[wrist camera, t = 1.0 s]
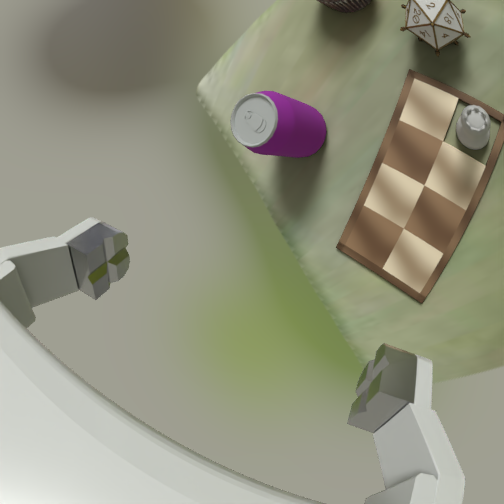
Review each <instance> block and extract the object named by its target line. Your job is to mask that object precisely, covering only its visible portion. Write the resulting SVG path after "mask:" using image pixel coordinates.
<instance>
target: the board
mask: <svg viewBox="0 0 504 504" xmlns="http://www.w3.org/2000/svg"><path fill="white" fill-rule="evenodd" d="M458 99H459V100H461V101H463V102H465V103H467V104H469V105H476V106H480V107H481V108H483V109H484V110H485V111H486V112H487V114H488V115H489V116H491V117H493V118H494V119H496V120H498V121H499V122H501V125H500V128H499V131H498V134H497V137H496V139H495V142H494V145H493V148H492V150H491V153H490V156H489V158H488V161H487V163H486V166H485V165H484V164H482V163H480V162H479V161H477V160H475V159H474V158H472V157H470V156H469V155H467V154H465V153H463V152H462V151H460V150H458V149H456V148H455V147H453V146H451V145H449V144H447V143H445V142H443V141H444V138H445V136H446V133H447V130H448V128H449V125H450V122H451V120H452V117H453V114H454V111H455V108H456V105H457V102H458ZM503 142H504V114H502V113H500V112H499V111H497V110H495V109H493V108H492V107H490V106H488V105H486V104H484V103H483V102H481V101H479V100H477V99H475V98H473V97H471V96H469V95H467V94H465V93H463V92H461V91H459V90H457V89H455V88H453V87H451V86H448V85H446V84H444V83H442V82H440V81H437V80H435V79H433V78H430V77H428V76H425V75H423V74H420V73H418V72H415V71H413V70H410V69H409V72H408V74H407V77H406V80H405V83H404V86H403V89H402V92H401V94H400V97H399V100H398V103H397V105H396V108H395V111H394V113H393V116H392V119H391V121H390V124H389V126H388V129H387V132H386V134H385V137H384V139H383V142H382V144H381V147H380V149H379V152H378V154H377V156H376V159H375V161H374V164H373V166H372V169H371V171H370V173H369V176H368V178H367V180H366V183H365V185H364V187H363V190H362V192H361V194H360V196H359V199H358V201H357V203H356V205H355V208H354V210H353V212H352V214H351V216H350V219H349V221H348V223H347V225H346V227H345V229H344V232H343V234H342V236H341V238H340V240H339V242H338V244H337V246H336V248H337V249H339V250H341V251H342V252H344V253H345V254H347V255H349V256H350V257H352V258H353V259H355V260H356V261H358V262H360V263H361V264H363V265H364V266H366V267H367V268H369V269H371V270H372V271H374V272H375V273H377V274H378V275H380V276H381V277H383V278H384V279H386V280H387V281H389V282H390V283H392V284H393V285H395V286H396V287H398V288H399V289H401V290H402V291H404V292H405V293H407V294H408V295H410V296H411V297H413V298H414V299H416V300H417V301H419V302H420V303H423V301H424V300H425V298H426V297H427V295H428V293H429V292H430V290H431V289H432V287H433V286H434V284H435V282H436V281H437V279H438V277H439V276H440V274H441V272H442V271H443V269H444V267H445V266H446V264H447V262H448V261H449V259H450V257H451V255H452V253H453V252H454V250H455V248H456V246H457V244H458V243H459V241H460V239H461V237H462V235H463V233H464V231H465V229H466V227H467V225H468V223H469V221H470V219H471V217H472V215H473V213H474V211H475V209H476V207H477V205H478V203H479V201H480V198H481V196H482V194H483V192H484V189H485V187H486V185H487V183H488V180H489V178H490V175H491V173H492V171H493V168H494V166H495V163H496V160H497V158H498V155H499V153H500V150H501V147H502V144H503Z"/></svg>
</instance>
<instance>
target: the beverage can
mask: <svg viewBox="0 0 504 504" xmlns="http://www.w3.org/2000/svg"><path fill="white" fill-rule="evenodd" d="M231 130H232V132H233V135H234V137H235V138H236V139H237V141H238V142H239V143H241V144H243V145H244V146H245V147H246V148H248V149H249V150H251V151H252V152H254V153H258V154H263V155H275V156H286V157H296V158H299V157H308V156H310V155H312V154H314V153H316V152H317V151H318V150H319V149H320V148H321V146H322V144H323V142H324V140H325V136H326V123H325V121H324V119H323V117H322V115H321V114H320V113H319V112H318V111H317V110H316V109H315V108H313V107H311V106H309V105H307V104H305V103H302V102H300V101H297V100H295V99H292V98H290V97H287V96H285V95H282V94H279V93H277V92H274V91H262V92H258V93H252V94H249V95H246V96H244V97H243V98H242V99H240V100H239V101H238V103H237V104H236V105H235V107H234V109H233V112H232V115H231Z"/></svg>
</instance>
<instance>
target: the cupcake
mask: <svg viewBox="0 0 504 504" xmlns="http://www.w3.org/2000/svg"><path fill="white" fill-rule="evenodd" d="M317 1H319V2H321V3H323V4H325V5H327V6H328V7H330V8H333V9H335V10H337V11H340V12H345V13H346V12H355V11H358V10H361V9H362V8H364V7H366V6H367V5H368V4H369V3H370V2H371V0H317Z"/></svg>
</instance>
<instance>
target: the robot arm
mask: <svg viewBox="0 0 504 504" xmlns="http://www.w3.org/2000/svg"><path fill="white" fill-rule="evenodd" d="M127 245H128V238H127V235H126V234H125V233H124V232H122V231H120V230H118V229H116V228H114V227H112V226H110V225H108V224H106V223H104V222H102V221H100V220H98V219H96V218H88V219H86V220H85V221H83V222H81V223H80V224H78V225H76V226H75V227H73V228H72V229H70V230H68V231H67V232H65V233H64V234H62V235H60V236H59V237H57V238H56V237H49V238H44V239H39V240H34V241H30V242H25V243H20V244H15V245H11V246H7V247H2V248H0V504H324V503H321V502H318V501H314V500H311V499H308V498H304V497H301V496H298V495H295V494H292V493H289V492H286V491H283V490H281V489H278V488H275V487H273V486H270V485H267V484H264V483H262V482H259V481H257V480H255V479H252V478H250V477H247V476H244V475H243V474H240V473H238V472H236V471H234V470H231V469H229V468H227V467H225V466H223V465H220V464H218V463H216V462H214V461H212V460H210V459H208V458H206V457H204V456H202V455H200V454H198V453H196V452H194V451H192V450H191V449H189V448H187V447H185V446H183V445H181V444H179V443H178V442H176V441H174V440H172V439H171V438H169V437H167V436H166V435H164V434H162V433H161V432H159V431H157V430H155V429H154V428H152V427H151V426H149V425H147V424H146V423H144V422H143V421H141V420H140V419H138V418H136V417H135V416H133V415H132V414H130V413H129V412H127V411H126V410H125V409H123V408H122V407H120V406H119V405H117V404H116V403H114V402H113V401H112V400H110V399H109V398H107V397H106V396H105V395H103V394H102V393H101V392H99V391H98V390H97V389H95V388H94V387H93V386H91V385H90V384H89V383H88V382H86V381H85V380H84V379H83V378H81V377H80V376H79V375H78V374H76V373H75V372H74V371H73V370H71V369H70V368H69V367H68V366H67V365H66V364H64V363H63V362H62V361H61V360H60V359H59V358H57V357H56V356H55V355H54V354H53V353H52V352H51V351H50V350H49V349H47V348H46V347H45V346H44V345H43V344H42V343H41V342H40V341H39V340H38V339H37V338H36V337H35V336H34V335H33V334H32V333H31V332H29V330H28V329H27V327H29V326H30V325H31V324H32V323H33V322H34V321H35V318H36V317H35V315H34V312H33V310H32V307H35V306H38V305H40V304H43V303H46V302H49V301H52V300H54V299H57V298H60V297H63V296H65V295H68V294H71V293H73V292H76V291H78V290H81V291H82V292H84V293H85V294H87V295H88V296H90V297H92V298H93V299H95V300H97V299H98V298H99V297H100V296H101V295H102V294H104V293H105V292H106V291H107V290H108V289H109V288H110V283H112V282H116V281H119V280H120V279H121V278H122V277H123V276H124V275H125V273H126V272H127V270H128V268H129V263H130V259H129V254H128V252H127V250H126V247H127ZM356 393H357V396H358V398H357V399H356V400H355V401H354V403H353V404H352V407H351V411H350V414H349V418H348V422H347V424H349V425H352V426H355V427H358V428H360V429H363V430H366V431H369V432H372V433H374V434H373V437H374V441H375V445H376V449H377V453H378V457H379V461H380V466H381V470H382V474H383V479H384V483H385V488H386V490H384V491H381V492H379V493H377V494H374V495H372V496H370V497H368V498H366V500H365V504H462V502H463V495H464V487H465V477H464V474H463V472H462V469H461V467H460V464H459V462H458V460H457V457H456V455H455V453H454V450H453V449H452V446H451V444H450V441H449V439H448V437H447V435H446V432H445V430H444V428H443V426H442V424H441V422H440V420H439V418H438V415H437V413H436V411H434V410H431V401H432V361H431V360H430V359H427V358H424V357H421V356H419V355H415V354H413V353H410V352H407V351H404V350H401V349H399V348H396V347H393V346H390V345H388V344H385V343H383V344H382V345H381V346H380V347H379V349H378V350H377V351H376V356H375V359H374V360H371V361H369V362H368V364H367V365H366V367H365V368H364V370H363V372H362V374H361V376H360V378H359V381H358V384H357V388H356Z"/></svg>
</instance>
